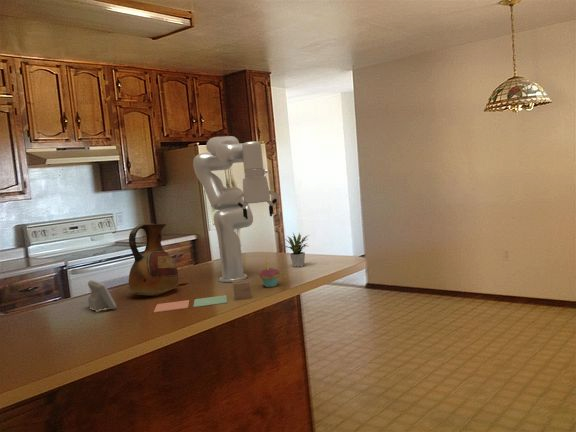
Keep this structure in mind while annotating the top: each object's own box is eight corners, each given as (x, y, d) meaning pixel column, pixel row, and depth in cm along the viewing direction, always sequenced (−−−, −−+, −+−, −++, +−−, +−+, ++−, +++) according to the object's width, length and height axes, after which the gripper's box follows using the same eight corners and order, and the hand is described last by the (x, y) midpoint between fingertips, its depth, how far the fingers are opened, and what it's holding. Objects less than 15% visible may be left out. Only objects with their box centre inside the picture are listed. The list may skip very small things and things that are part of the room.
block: (234, 296, 197) (232, 281, 196) (250, 294, 197) (248, 279, 197) (235, 300, 191) (233, 284, 190) (251, 298, 191) (249, 282, 191)
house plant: (315, 267, 239) (311, 232, 238) (285, 270, 239) (281, 235, 238) (313, 262, 253) (310, 229, 252) (285, 265, 254) (282, 232, 252)
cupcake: (278, 287, 204) (275, 257, 203) (257, 288, 206) (254, 259, 205) (283, 282, 213) (280, 254, 212) (262, 284, 214) (259, 255, 214)
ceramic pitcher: (189, 290, 217) (180, 219, 215) (147, 301, 203) (137, 225, 201) (162, 286, 231) (154, 219, 229) (121, 297, 216) (112, 226, 214)
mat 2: (194, 300, 197) (194, 299, 197) (226, 295, 199) (226, 295, 199) (193, 307, 186) (193, 306, 186) (227, 303, 187) (227, 302, 187)
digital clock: (117, 310, 194) (113, 282, 193) (92, 315, 190) (88, 286, 189) (112, 302, 209) (108, 276, 208) (88, 306, 205) (84, 280, 204)
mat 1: (157, 305, 196) (157, 304, 196) (189, 300, 197) (189, 300, 197) (153, 312, 184) (153, 312, 184) (187, 308, 185) (187, 307, 185)
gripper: (275, 171, 206) (279, 214, 208) (231, 176, 204) (236, 219, 205) (277, 171, 199) (281, 215, 200) (232, 175, 197) (237, 220, 198)
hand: (258, 217), depth 203 cm, fingers open, 9 cm apart
